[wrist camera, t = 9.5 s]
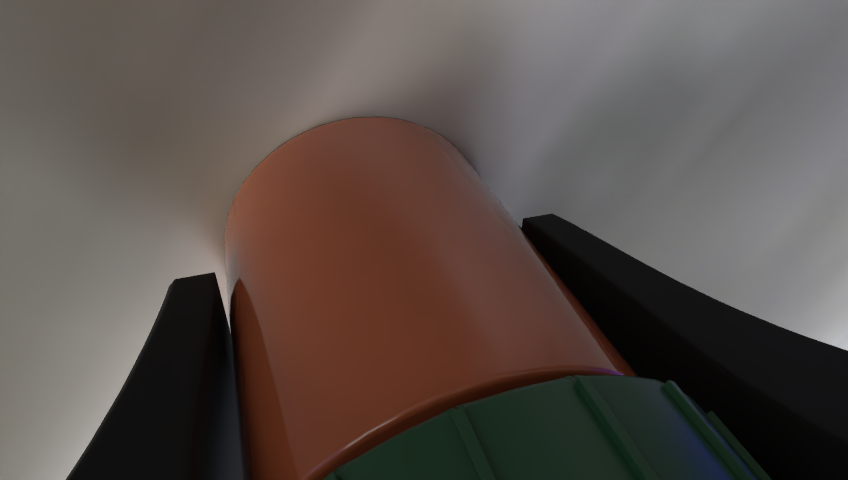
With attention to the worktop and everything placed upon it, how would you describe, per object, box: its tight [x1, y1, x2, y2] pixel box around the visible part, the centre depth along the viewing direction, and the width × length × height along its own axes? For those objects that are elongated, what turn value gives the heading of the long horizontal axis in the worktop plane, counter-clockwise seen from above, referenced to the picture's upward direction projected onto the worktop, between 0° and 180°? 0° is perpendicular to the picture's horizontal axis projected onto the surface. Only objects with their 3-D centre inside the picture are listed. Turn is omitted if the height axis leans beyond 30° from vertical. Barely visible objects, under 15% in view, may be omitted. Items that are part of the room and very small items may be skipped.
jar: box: [224, 117, 638, 480], centre depth 9 cm, size 5×5×8 cm
